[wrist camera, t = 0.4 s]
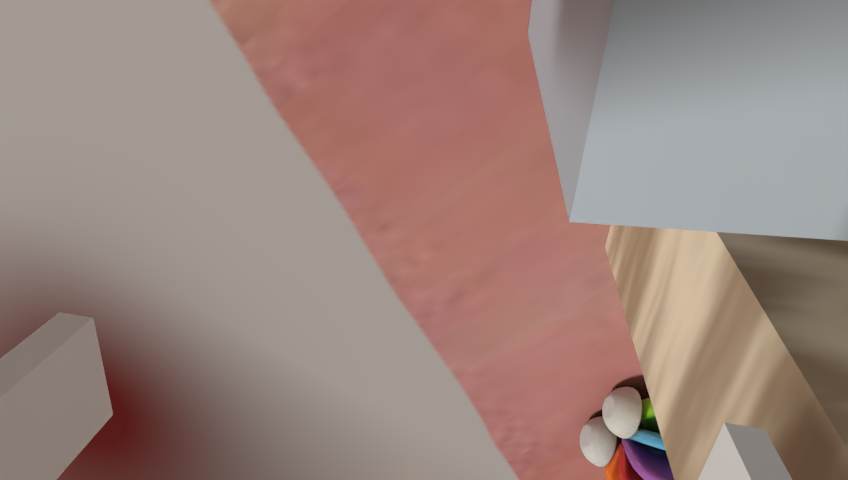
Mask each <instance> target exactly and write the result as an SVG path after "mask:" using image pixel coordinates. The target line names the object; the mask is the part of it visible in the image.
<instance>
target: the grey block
mask: <svg viewBox="0 0 848 480" xmlns="http://www.w3.org/2000/svg"><path fill="white" fill-rule="evenodd" d="M528 37H529V42H530V46H531V51H532V55H533V60H534V64H535V69H536V73H537V78H538V82H539V87H540V91H541V96H542V100H543V105H544V109H545V114H546V118H547V123H548V127H549V132H550V136H551V141H552V145H553V150H554V154H555V159H556V163H557V168H558V172H559V177H560V181H561V186H562V190H563V195H564V199H565V204H566V208H567V213H568V217H569V222H578V223H592V224H607V225H622V226H636V227H651V228H666V229H680V230H695V231H710V232H724V233H739V234H754V235H769V236H783V237H798V238H813V239H827V240H842V241H848V0H532V4H531V12H530V20H529V28H528Z"/></svg>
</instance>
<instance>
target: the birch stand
mask: <svg viewBox="0 0 848 480" xmlns="http://www.w3.org/2000/svg"><path fill="white" fill-rule="evenodd" d="M605 249H606V252H607V255H608V259H609V262H610V265H611V269H612V272H613V275H614V279H615V282H616V286H617V289H618V292H619V296H620V299H621V302H622V306H623V309H624V312H625V316H626V319H627V323H628V326H629V329H630V333H631V336H632V339H633V343H634V346H635V349H636V353H637V356H638V359H639V363H640V366H641V370H642V373H643V376H644V380H645V383H646V386H647V390H648V393H649V396H650V400H651V403H652V406H653V410H654V413H655V417H656V420H657V423H658V427H659V430H660V433H661V437H662V440H663V443H664V447H665V450H666V454H667V457H668V460H669V464H670V467H671V470H672V474H673V477H674V480H698V479H699V476H700V474H701V472H702V470H703V468H704V466H705V463H706V461H707V459H708V457H709V455H710V452H711V450H712V448H713V446H714V444H715V442H716V439H717V437H718V435H719V433H720V431H721V428H722V426H723V424H724V423H730V424H736V425H742V426H748V427H754V428H760V429H765V431H766V433H767V435H768V436H769V438H770V440H771V442H772V444H773V445H774V447H775V449H776V451H777V453H778V455H779V456H780V458H781V460H782V462H783V464H784V465H785V467H786V469H787V471H788V473H789V474H790V476H791V478H792V480H848V241H842V240H827V239H813V238H798V237H783V236H769V235H754V234H739V233H724V232H710V231H695V230H680V229H666V228H651V227H636V226H622V225H611V227H610V230H609V234H608V238H607V242H606V246H605Z"/></svg>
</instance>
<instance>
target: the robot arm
mask: <svg viewBox="0 0 848 480" xmlns="http://www.w3.org/2000/svg"><path fill="white" fill-rule="evenodd" d="M112 415H113V412H112V407H111V402H110V397H109V393H108V388H107V383H106V378H105V373H104V368H103V363H102V358H101V354H100V349H99V344H98V339H97V334H96V329H95V324H94V320H93V318H90V317H84V316H77V315H72V314H65V313H58V314H57V315H56V316H54V317H53V318H52V319H51V320H50V321H48V322H47V323H46V324H44V325H43V326H42V327H41V328H39V329H38V330H36V331H35V332H34V333H33V334H31V335H30V336H29V337H28V338H26V339H25V340H24V341H22V342H21V343H20V344H19V345H17V346H16V347H15V348H13V349H12V350H11V351H10V352H8V353H7V354H6V355H4V356H3V357H2V358H1V359H0V480H56V479H57V478H58V477H59V476H60V475H61V474H62V472H63V471H64V470H65V469H66V468H67V467H68V465H69V464H70V463H71V462H72V461H73V460H74V459H75V457H76V456H77V455H78V454H79V453H80V452H81V450H82V449H83V448H84V447H85V446H86V445H87V444H88V442H89V441H90V440H91V439H92V438H93V437H94V436H95V435H96V433H97V432H98V431H99V430H100V429H101V428H102V427H103V425H104V424H105V423H106V422H107V421H108V420H109V418H110V417H111V416H112ZM698 480H792V478H791V476H790V474H789V473H788V471H787V469H786V467H785V465H784V464H783V462H782V460H781V458H780V456H779V455H778V453H777V451H776V449H775V447H774V445H773V444H772V442H771V440H770V438H769V436H768V435H767V433H766V431H765V429H760V428H754V427H748V426H742V425H736V424H730V423H724V424H723V426H722V428H721V431H720V433H719V435H718V437H717V439H716V442H715V444H714V446H713V448H712V450H711V452H710V455H709V457H708V459H707V461H706V463H705V466H704V468H703V470H702V472H701V474H700V476H699V479H698Z"/></svg>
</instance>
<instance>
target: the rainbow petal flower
mask: <svg viewBox="0 0 848 480" xmlns="http://www.w3.org/2000/svg"><path fill="white" fill-rule="evenodd" d="M602 415H603V416H601V417H595V418H593V419H591V420H589V421H588V422H587V423H586V424H585V425H584V426H583V428H582V430H581V433H580V446H581V449H582V452H583V454H584V455H585V457H586V458H587V459H588V460H589V461H590V462H591V463H593V464H595V465H596V466H600V467H602V466H606V467H605V475H606V479H607V480H674V477H673V474H672V470H671V467H670V464H669V460H668V457H667V454H666V450H665V447H664V443H663V440H662V437H661V433H660V430H659V427H658V423H657V420H656V417H655V413H654V410H653V406H652V403H651V400H650V398H646V399H643V400H641V398H640V395H639V393H638V391H637V390H636V389H634V388H632V387H621V388H617V389H615V390H613V391H612V392H611V393H609V394H608V396H607V397H606V398H605V400H604V403H603V407H602Z"/></svg>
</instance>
